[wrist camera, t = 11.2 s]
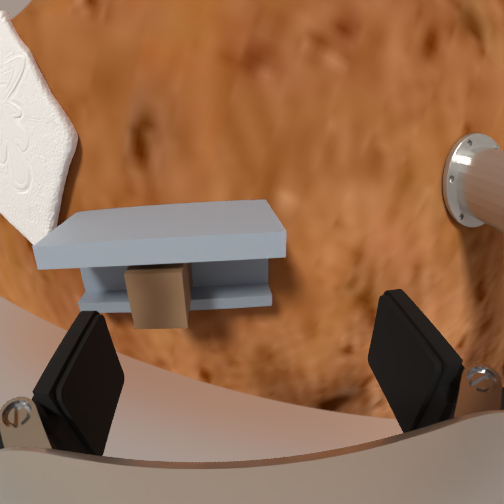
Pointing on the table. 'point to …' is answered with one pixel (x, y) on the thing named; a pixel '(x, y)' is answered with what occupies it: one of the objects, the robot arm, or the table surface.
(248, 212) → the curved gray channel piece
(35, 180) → the flat white fragment
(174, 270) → the brown block
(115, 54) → the table surface
